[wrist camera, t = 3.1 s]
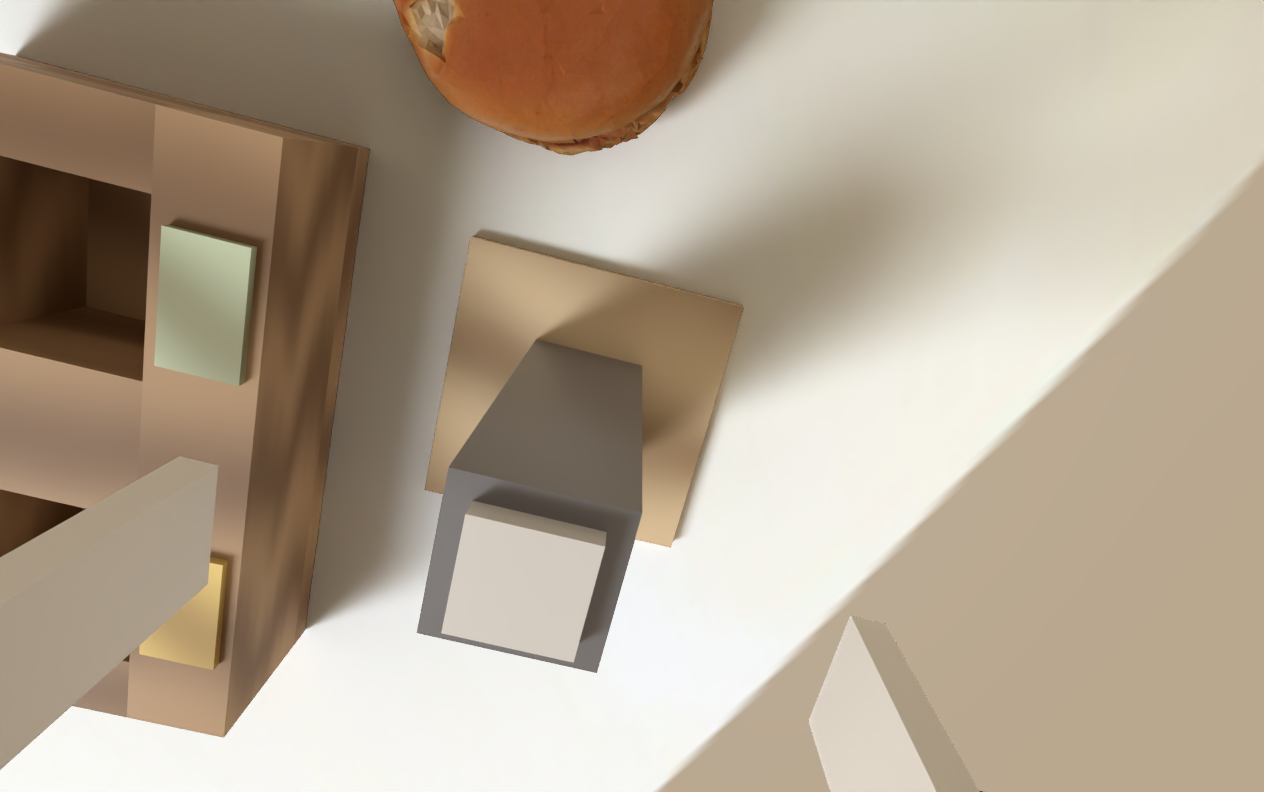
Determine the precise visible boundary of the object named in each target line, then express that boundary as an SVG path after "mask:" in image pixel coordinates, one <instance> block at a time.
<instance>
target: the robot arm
mask: <svg viewBox="0 0 1264 792" xmlns="http://www.w3.org/2000/svg"><path fill="white" fill-rule="evenodd" d="M217 476H218V465H214V464H210V463H206V462H202V461H197V460H193V459H189V458H185V457H180V456H179V457H177V458H176V459H174V460H172V461H170V462H169V463H167V464H165V465H163V466H161V467H160V468H158V469H156V470H154V471H153V472H151V473H149V474H147V475H146V476H144V477H142V478H140V479H138V480H137V481H135V482H133V483H131V484H130V485H128V486H126V487H124V488H122V489H121V490H119V491H117V492H115V493H114V494H112V495H110V496H108V497H107V498H105V499H103V500H101V501H99V502H98V503H96V504H94V505H92V506H91V507H89V508H87V509H85V510H83V511H82V512H80V513H78V514H76V515H75V516H73V517H71V518H69V519H67V520H66V521H64V522H62V523H60V524H59V525H57V526H55V527H53V528H52V529H50V530H48V531H46V532H44V533H43V534H41V535H39V536H37V537H36V538H34V539H32V540H30V541H28V542H27V543H25V544H23V545H21V546H20V547H18V548H16V549H14V550H13V551H11V552H9V553H7V554H5V555H4V556H2V557H0V769H2V768H3V767H4V766H5V765H6V764H7V763H8V762H9V761H11V760H12V759H13V758H14V757H15V756H16V755H17V754H18V753H20V752H21V751H22V750H23V749H24V748H25V747H26V746H27V745H28V744H30V743H31V742H32V741H33V740H34V739H35V738H36V737H37V736H39V735H40V734H41V733H42V732H43V731H44V730H45V729H46V728H48V727H49V726H50V725H51V724H52V723H53V722H54V721H55V720H56V719H58V718H59V717H60V716H61V715H62V714H63V713H64V712H65V711H67V710H68V709H69V708H70V707H71V706H72V705H73V704H74V703H76V702H77V701H78V700H79V699H80V698H81V697H82V696H83V695H84V694H86V693H87V692H88V691H89V690H90V689H91V688H92V687H93V686H95V685H96V684H97V683H98V682H99V681H100V680H101V679H102V678H104V677H105V676H106V675H107V674H108V673H109V672H110V671H111V670H112V669H114V668H115V667H116V666H117V665H118V664H119V663H120V662H121V661H123V660H124V659H125V658H126V657H127V656H128V655H129V654H130V653H132V652H133V651H134V650H135V649H136V648H137V647H138V646H139V645H140V644H142V643H143V642H144V641H145V640H146V639H147V638H148V637H149V636H151V635H152V634H153V633H154V632H155V631H156V630H157V629H158V628H159V627H161V626H162V625H163V624H164V623H165V622H166V621H167V620H168V619H170V618H171V617H172V616H173V615H174V614H175V613H176V612H177V611H179V610H180V609H181V608H182V607H183V606H184V605H185V604H186V603H187V602H189V601H190V600H191V599H192V598H193V597H194V596H195V595H196V594H198V593H199V592H200V591H201V590H202V589H203V588H204V587H205V586H207V585H208V575H209V564H210V553H211V542H212V531H213V520H214V509H215V498H216V487H217ZM809 725H810V727H811V731H812V734H813V738H814V741H815V744H816V747H817V750H818V754H819V757H820V760H821V763H822V767H823V770H824V773H825V776H826V779H827V783H828V786H829V789H830V792H982V791H979V790H978V788H977V786H976V784H975V783H974V781H973V779H972V777H971V775H970V773H969V772H968V770H967V768H966V767H965V765H964V763H963V761H962V759H961V757H960V756H959V754H958V752H957V751H956V748H955V747H954V745H953V743H952V741H951V739H950V738H949V736H948V734H947V732H946V731H945V729H944V727H943V725H942V724H941V722H940V720H939V718H938V716H937V714H936V713H935V711H934V709H933V707H932V705H931V704H930V702H929V700H928V698H927V697H926V695H925V693H924V691H923V689H922V688H921V686H920V684H919V682H918V681H917V679H916V677H915V675H914V673H913V672H912V670H911V668H910V666H909V665H908V663H907V661H906V659H905V657H904V656H903V654H902V652H901V650H900V648H899V647H898V645H897V643H896V641H895V639H894V638H893V636H892V634H891V632H890V630H889V629H888V627H887V625H886V624H885V623H882V622H878V621H873V620H869V619H865V618H861V617H857V616H852V615H851V616H850V618H849V620H848V623H847V625H846V628H845V631H844V633H843V635H842V638H841V641H840V643H839V645H838V648H837V650H836V653H835V656H834V658H833V661H832V663H831V666H830V668H829V671H828V673H827V676H826V678H825V681H824V683H823V686H822V688H821V691H820V693H819V696H818V698H817V701H816V703H815V706H814V708H813V711H812V714H811V716H810V719H809Z"/></svg>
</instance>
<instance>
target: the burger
mask: <svg viewBox="0 0 1264 792" xmlns="http://www.w3.org/2000/svg"><path fill="white" fill-rule="evenodd" d="M393 1H394V4H395V6H396V8H397V11H398V14H399V18H400V21H401V24H402V27H403V29H404V30H405V32H406V34H407V36H408V38H409V40H410V42H411V43H412V45H413V48H414V50H415V52H416V54H417V57H418V59H419V61H420V63H421V65H422V67H423V68H424V70H425V72H426V74H427V76H428V78H429V80H430V81H431V82H432V83H433V84H434V86H435V87H436V88H437V89H438V90H439V91H440V93H441V94H442V95H443V96H444V97H445V98H446V100H447V101H448V102H449V103H450V104H451V105H453V106H454V107H456V108H457V109H459V110H460V111H462V112H463V113H465V114H466V115H468V116H469V117H471V118H472V119H475V120H477V121H479V122H481V123H483V124H485V125H487V126H489V127H491V128H493V129H496V130H499V131H501V132H503V133H505V134H507V135H509V136H511V137H514V138H516V139H518V140H522V141H524V142H527V143H530V144H536V145H541V146H542V147H544V148H545V149H548V150H551V151H554V152H556V153H558V154H564V155H575V154H578V153H582V152H585V151H598V150H602V148H612V147H613V146H614V145H617V144H619V143H621V142H627V141H629V140H631V139H636V138H638V137H637V135H639V134H641V133H642V132H643V131H645V130H646V129H647V128H648V127H649V126H650V125H652V124H653V123H654V122H655V121H656V120H657V119H658V117H659V116H660V115H661V114H662V113H663V111H664V110H665V109H666V106H667V105H668V103H669V102H670V101H671V100H672V99H673V98H675V97H676V95H678V94H680V93H682V92H684V90H685V89H686V87H687V86H688V85H689V83H690V82H691V80H692V79H693V77H694V75H695V73H696V71H697V69H698V66H699V64H700V62H701V59H703V58H702V55H703V53H704V51H705V48H706V43H707V39H708V34H709V29H710V23H711V16H712V4H713V0H393Z"/></svg>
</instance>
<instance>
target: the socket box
mask: <svg viewBox="0 0 1264 792" xmlns="http://www.w3.org/2000/svg"><path fill="white" fill-rule="evenodd" d="M368 157H369V149H367V148H364V147H360V146H356V145H352V144H348V143H345V142H341V141H337V140H333V139H329V138H326V137H322V136H318V135H314V134H310V133H307V132H303V131H299V130H295V129H291V128H288V127H284V126H280V125H276V124H272V123H269V122H265V121H261V120H257V119H253V118H250V117H246V116H242V115H238V114H234V113H231V112H227V111H223V110H219V109H215V108H212V107H208V106H204V105H200V104H196V103H193V102H189V101H185V100H181V99H177V98H174V97H170V96H166V95H162V94H158V93H155V92H151V91H147V90H143V89H139V88H136V87H132V86H128V85H124V84H120V83H117V82H113V81H109V80H105V79H101V78H98V77H94V76H90V75H86V74H82V73H79V72H75V71H71V70H67V69H63V68H60V67H56V66H52V65H48V64H44V63H41V62H37V61H33V60H29V59H25V58H22V57H18V56H14V55H9V54H4V53H0V557H2V556H4V555H5V554H7V553H9V552H11V551H13V550H14V549H16V548H18V547H20V546H21V545H23V544H25V543H27V542H28V541H30V540H32V539H34V538H36V537H37V536H39V535H41V534H43V533H44V532H46V531H48V530H50V529H52V528H53V527H55V526H57V525H59V524H60V523H62V522H64V521H66V520H67V519H69V518H71V517H73V516H75V515H76V514H78V513H80V512H82V511H83V510H85V509H87V508H89V507H91V506H92V505H94V504H96V503H98V502H99V501H101V500H103V499H105V498H107V497H108V496H110V495H112V494H114V493H115V492H117V491H119V490H121V489H122V488H124V487H126V486H128V485H130V484H131V483H133V482H135V481H137V480H138V479H140V478H142V477H144V476H146V475H147V474H149V473H151V472H153V471H154V470H156V469H158V468H160V467H161V466H163V465H165V464H167V463H169V462H170V461H172V460H174V459H176V458H177V457H179V456H180V457H185V458H189V459H193V460H197V461H202V462H206V463H210V464H214V465H218V476H217V487H216V498H215V509H214V520H213V531H212V542H211V553H210V564H209V575H208V585H207V586H205V587H204V588H203V589H202V590H201V591H200V592H199V593H198V594H196V595H195V596H194V597H193V598H192V599H191V600H190V601H189V602H187V603H186V604H185V605H184V606H183V607H182V608H181V609H180V610H179V611H177V612H176V613H175V614H174V615H173V616H172V617H171V618H170V619H168V620H167V621H166V622H165V623H164V624H163V625H162V626H161V627H159V628H158V629H157V630H156V631H155V632H154V633H153V634H152V635H151V636H149V637H148V638H147V639H146V640H145V641H144V642H143V643H142V644H140V645H139V646H138V647H137V648H136V649H135V650H134V651H133V652H132V653H130V654H129V655H128V656H127V657H126V658H125V659H124V660H123V661H121V662H120V663H119V664H118V665H117V666H116V667H115V668H114V669H112V670H111V671H110V672H109V673H108V674H107V675H106V676H105V677H104V678H102V679H101V680H100V681H99V682H98V683H97V684H96V685H95V686H93V687H92V688H91V689H90V690H89V691H88V692H87V693H86V694H84V695H83V696H82V697H81V698H80V699H79V700H78V701H77V702H76V703H74V704H73V705H72V706H76V707H81V708H85V709H90V710H95V711H100V712H104V713H109V714H114V715H119V716H124V717H128V718H133V719H138V720H143V721H147V722H152V723H157V724H162V725H166V726H171V727H176V728H181V729H186V730H190V731H195V732H200V733H205V734H209V735H214V736H219V737H225V735H226V734H227V733H228V731H229V730H230V729H231V727H232V726H233V725H234V723H235V722H236V721H237V719H238V718H239V717H240V715H241V714H242V713H243V711H244V710H245V709H246V707H247V706H248V705H249V704H250V702H251V701H252V700H253V698H254V697H255V696H256V694H257V693H258V692H259V690H260V689H261V688H262V686H263V685H264V684H265V682H266V681H267V680H268V678H269V677H270V676H271V674H272V673H273V672H274V670H275V669H276V668H277V667H278V665H279V664H280V663H281V661H282V660H283V659H284V657H285V656H286V655H287V653H288V652H289V651H290V649H291V648H292V647H293V645H294V644H295V643H296V641H297V640H298V639H299V637H300V636H301V635H302V634H303V632H304V631H305V627H306V619H307V612H308V604H309V597H310V589H311V582H312V574H313V567H314V559H315V552H316V545H317V537H318V530H319V522H320V515H321V507H322V500H323V492H324V485H325V477H326V470H327V463H328V455H329V448H330V440H331V433H332V425H333V418H334V410H335V403H336V395H337V388H338V381H339V373H340V366H341V358H342V351H343V343H344V336H345V328H346V321H347V313H348V306H349V299H350V291H351V284H352V276H353V269H354V261H355V254H356V246H357V239H358V231H359V224H360V217H361V209H362V202H363V194H364V187H365V179H366V172H367V164H368Z"/></svg>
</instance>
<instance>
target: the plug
mask: <svg viewBox="0 0 1264 792" xmlns="http://www.w3.org/2000/svg"><path fill="white" fill-rule="evenodd" d="M641 516H642V365H638V364H634V363H630V362H626V361H622V360H618V359H614V358H610V357H606V356H602V355H598V354H594V353H590V352H586V351H582V350H578V349H574V348H570V347H566V346H562V345H558V344H554V343H550V342H546V341H542V340H538V339H536V340H535V342H534V343H533V345H532V346H531V348H530V349H529V350H528V352H527V353H526V355H525V356H524V358H523V359H522V361H521V362H520V364H519V365H518V366H517V368H516V369H515V371H514V372H513V374H512V375H511V377H510V378H509V380H508V381H507V383H506V384H505V385H504V387H503V388H502V390H501V391H500V393H499V394H498V396H497V397H496V399H495V400H494V401H493V403H492V404H491V406H490V407H489V409H488V410H487V412H486V413H485V415H484V416H483V417H482V419H481V420H480V422H479V423H478V425H477V426H476V428H475V429H474V431H473V432H472V434H471V435H470V436H469V438H468V439H467V441H466V442H465V444H464V445H463V447H462V448H461V450H460V451H459V452H458V454H457V455H456V457H455V458H454V460H453V461H452V463H451V464H450V466H449V467H448V472H447V477H446V483H445V488H444V493H443V498H442V504H441V509H440V514H439V519H438V525H437V530H436V535H435V540H434V546H433V551H432V556H431V561H430V567H429V572H428V577H427V582H426V588H425V593H424V598H423V604H422V609H421V614H420V619H419V625H418V630H417V633H420V634H424V635H429V636H433V637H438V638H442V639H447V640H451V641H456V642H460V643H465V644H469V645H474V646H478V647H483V648H487V649H492V650H496V651H501V652H505V653H510V654H514V655H519V656H523V657H528V658H532V659H537V660H541V661H546V662H550V663H555V664H559V665H564V666H568V667H573V668H577V669H582V670H586V671H591V672H595V673H597V670H598V667H599V663H600V660H601V656H602V653H603V649H604V646H605V642H606V639H607V635H608V632H609V628H610V625H611V621H612V618H613V614H614V611H615V607H616V604H617V600H618V597H619V593H620V590H621V586H622V583H623V579H624V576H625V572H626V569H627V565H628V562H629V558H630V555H631V551H632V548H633V544H634V541H635V537H636V534H637V530H638V527H639V523H640V520H641Z"/></svg>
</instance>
